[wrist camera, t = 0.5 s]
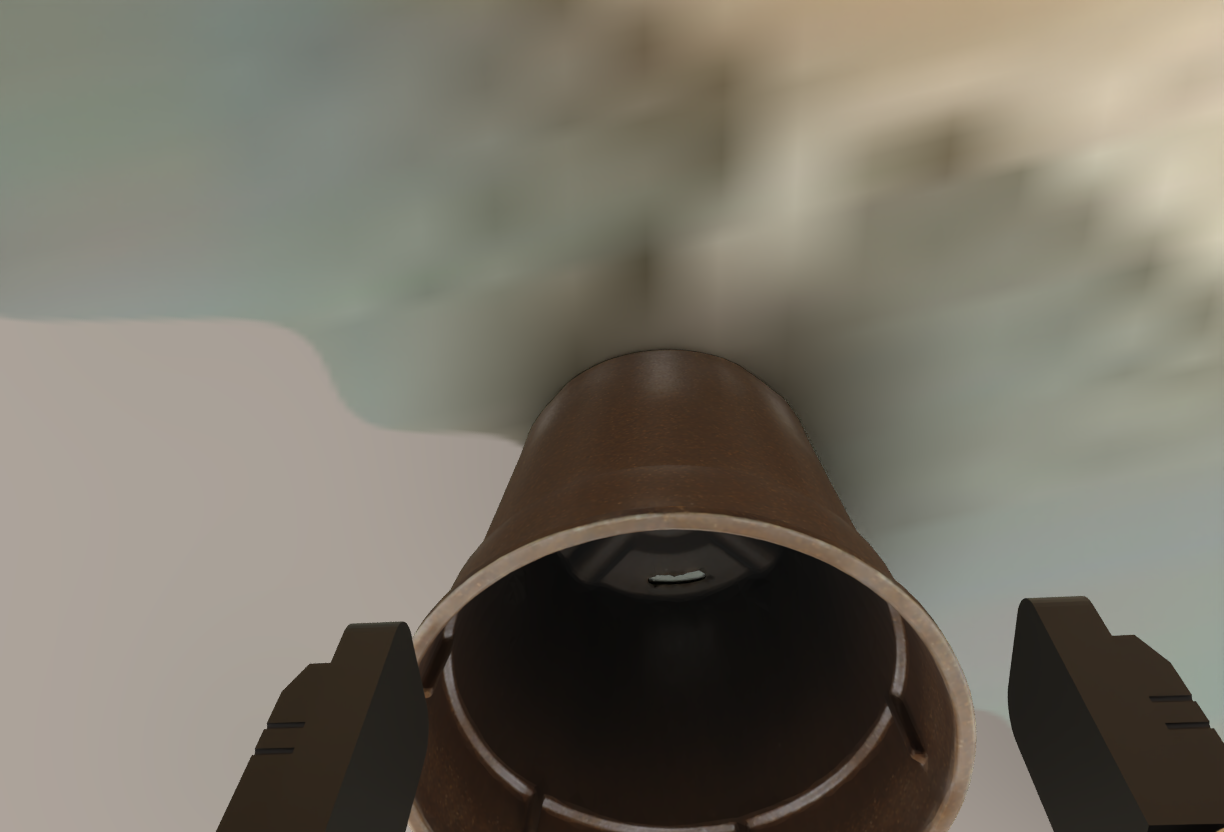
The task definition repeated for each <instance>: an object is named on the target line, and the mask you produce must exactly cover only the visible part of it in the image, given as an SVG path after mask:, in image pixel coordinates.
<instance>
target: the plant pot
mask: <svg viewBox="0 0 1224 832" xmlns="http://www.w3.org/2000/svg"><path fill="white" fill-rule="evenodd" d="M697 570H700V571H702V572H703V573H705V574H706V577H705V578H704V579H703V580H701V581H697V582H691V583H685V584H662V585H656V584H651V583H649V582H648V579H649V578H651V577H655V576H656V575H672V576H674V577H675V576H677V575H684V574H685V573H689V572H694V571H697ZM412 640H413V645H414V649H415V654H416V658H417V663H418V667H419V672H420V676H421V681H422V685H423V690H424V694H425V699H426V703H427V709H428V719H429V735H428V746H427V752H426V757H425V761H424V764H423V768H422V772H421V775H420V779H419V783H418V787H417V790H416V794H415V798H414V801H413V805H412V809H411V813H410V816H409V820H408V826H409V827H410V829H411V831H412V832H948V830H949V828H950V827H951V825H952V824H953V822H954V820H955V818H956V816H957V814H958V812H959V810H960V808H961V806H962V803H963V801H964V799H965V796H966V793H967V791H968V788H969V785H970V781H971V776H972V771H973V766H974V759H975V750H976V721H975V713H974V706H973V702H972V697H971V693H970V689H969V686H968V684H967V681H966V678H965V675H964V672H963V670H962V668H961V666H960V664H959V662H958V660H957V658H956V656H955V654H954V652H953V650H952V648H951V646H950V644H949V643H948V641H947V640H946V638H945V637H944V635H943V633H942V632H941V630H940V629H939V627H938V626H937V624H936V623H935V621H934V620H933V619H932V617H931V616H930V615H929V614H928V613H927V611H926V610H925V609H924V608H923V606H922V605H921V604H920V603H919V602H918V601H917V600H916V599H915V598H914V597H913V596H912V595H911V594H910V593H909V592H908V591H907V590H906V589H905V588H904V587H903V586H902V585H901V584H899V583H898V582H897V581H896V580H895V579H894V578H893V576H892V575H891V573H890V571H889V570H888V568H887V566H886V565H885V563H884V562H883V561H882V559H881V558H880V557H879V556H878V554H877V553H876V552H875V551H874V549H873V548H872V547H871V546H870V544H869V543H868V542H867V541H866V540H865V539H864V538H863V537H862V536H861V535H860V534H859V533H858V532H857V531H856V529H855V527H854V525H853V524H852V522H851V520H850V518H849V516H848V514H847V513H846V511H845V509H844V507H843V505H842V503H841V501H840V499H839V497H838V495H837V493H836V492H835V490H834V488H833V486H832V484H831V483H830V481H829V479H828V477H827V475H826V473H825V471H824V469H823V467H822V465H821V463H820V461H819V460H818V458H817V456H816V454H815V452H814V450H813V448H812V446H811V444H810V442H809V440H808V439H807V436H806V434H805V432H804V430H803V427H802V425H801V423H800V421H799V420H798V418H797V416H796V415H795V413H794V412H793V410H792V409H791V408H790V406H789V405H788V403H787V402H786V401H785V400H784V399H783V398H782V397H781V396H780V395H779V394H777V393H776V392H774V391H773V390H772V389H770V388H769V387H768V386H767V385H766V384H765V383H763V382H762V381H761V380H759V379H758V378H756V377H755V376H753V375H752V374H751V373H749V372H748V371H746V370H745V369H744V368H742V367H741V366H739V365H737V364H735V363H733V362H730V361H728V360H726V359H723V358H720V357H716V356H713V355H709V354H704V353H699V352H694V351H685V350H652V351H644V352H637V353H632V354H627V355H623V356H620V357H617V358H613V359H610V360H607V361H605V362H602V363H600V364H598V365H596V366H594V367H592V368H590V369H588V370H586V371H585V372H583V373H581V374H580V375H578V376H577V377H575V378H574V379H572V380H571V381H570V382H569V383H567V384H566V385H565V386H564V388H563V389H562V390H561V391H560V392H559V393H558V394H557V395H556V396H555V398H554V399H553V400H552V401H551V402H550V403H549V404H548V405H547V406H546V407H545V409H544V410H543V411H542V412H541V414H540V415H539V417H538V418H537V419H536V421H535V422H534V424H533V425H532V427H531V429H530V432H529V434H528V437H527V439H526V442H525V445H524V447H523V450H522V453H521V455H520V458H519V460H518V463H517V465H516V467H515V469H514V472H513V474H512V476H511V479H510V481H509V483H508V486H507V488H506V490H505V493H504V495H503V498H502V500H501V502H500V505H499V507H498V509H497V512H496V514H495V516H494V518H493V521H492V523H491V525H490V528H489V530H488V532H487V534H486V537H485V539H484V541H483V542H482V544H481V545H480V546H479V547H478V549H477V550H476V551H475V552H474V553H473V554H472V556H471V557H470V558H469V559H468V561H467V563H466V564H465V565H464V567H463V568H462V570H461V571H460V573H459V575H458V577H457V579H456V580H455V582H454V584H453V586H452V588H451V590H450V591H449V592H448V593H447V594H446V595H445V596H444V597H443V598H442V599H441V600H440V601H439V602H438V603H437V605H436V606H435V607H434V608H433V609H432V610H431V611H430V613H429V614H428V615H427V616H426V618H425V619H424V620H423V622H422V623H421V625H420V626H419V628H418V629H417V631H416V633H415V635H414V636H413V638H412Z"/></svg>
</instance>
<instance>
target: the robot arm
mask: <svg viewBox="0 0 1224 832" xmlns="http://www.w3.org/2000/svg"><path fill="white" fill-rule="evenodd" d="M1008 709H1009V716H1010V722H1011V726H1012V731H1013V734H1014V737H1015V740H1016V742H1017V745H1018V747H1019V750H1020V752H1021V754H1022V757H1023V759H1024V761H1025V764H1026V766H1027V768H1028V771H1029V773H1030V776H1031V778H1032V780H1033V783H1034V785H1035V787H1036V790H1037V792H1038V795H1039V797H1040V800H1041V802H1042V804H1043V807H1044V809H1045V811H1046V814H1047V816H1048V819H1049V821H1050V823H1051V826H1052V828H1053V831H1054V832H1224V743H1223V741H1222V740H1221V738H1220V737H1219V735H1218V734H1217V732H1216V731H1215V729H1214V728H1210V725H1209V720H1208V719H1207V717H1206V716H1205V714H1204V713H1203V711H1202V710H1201V708H1200V707H1199V705H1198V704H1197V702H1196V701H1193V700H1192V695H1191V693H1190V691H1189V690H1188V688H1187V687H1186V685H1185V684H1184V682H1183V681H1182V679H1181V678H1180V676H1179V675H1178V673H1177V672H1176V670H1175V669H1174V667H1173V666H1172V664H1171V663H1170V662H1169V661H1168V660H1166V659H1165V658H1164V657H1163V656H1161V655H1160V654H1159V653H1157V652H1156V651H1155V650H1153V649H1152V648H1151V647H1149V646H1148V645H1147V644H1146V643H1144V642H1143V641H1142V640H1140V639H1139V638H1138V637H1136V636H1135V635H1120V636H1112V635H1111V634H1110V632H1109V630H1108V629H1107V627H1106V626H1105V624H1104V622H1103V621H1102V619H1101V617H1100V616H1099V614H1098V612H1097V611H1096V609H1095V607H1094V606H1093V604H1092V603H1091V601H1090V600H1089V599H1088V598H1086V597H1085V596H1072V597H1047V598H1025V599H1023V600H1022V601H1021V603H1020V605H1019V608H1018V613H1017V621H1016V629H1015V637H1014V645H1013V653H1012V661H1011V669H1010V677H1009V685H1008ZM428 735H429V719H428V709H427V703H426V699H425V694H424V690H423V685H422V681H421V676H420V672H419V667H418V663H417V658H416V654H415V649H414V645H413V640H412V636H411V632H410V629H409V627H408V625H407V623H405V622H382V623H357V624H350V625H348V626H347V628H346V629H345V631H344V633H343V636H342V638H341V640H340V643H339V645H338V647H337V650H336V652H335V654H334V656H333V659H332V661H331V663H318V664H309V665H308V666H307V667H306V668H305V669H304V670H303V671H302V672H301V673H300V674H299V675H298V676H297V677H296V678H295V679H294V680H293V681H292V682H291V683H290V684H289V685H288V686H287V687H286V688H285V689H284V690H283V691H282V692H281V695H280V697H279V699H278V701H277V703H276V705H275V707H274V709H273V711H272V714H271V716H270V718H269V720H268V722H267V729H264V731H263V733H262V735H261V737H260V739H259V741H258V744H257V745H256V748H255V755H252V756H251V758H250V760H249V762H248V765H247V767H246V769H245V771H244V773H243V775H242V777H241V780H240V782H239V784H238V786H237V788H236V790H235V792H234V795H233V796H232V799H231V801H230V803H229V805H228V807H227V809H226V812H225V813H224V816H223V818H222V820H221V822H220V824H219V826H218V829H217V830H216V832H405V831H406V827H407V824H408V820H409V816H410V813H411V809H412V805H413V801H414V798H415V794H416V790H417V787H418V783H419V779H420V775H421V772H422V768H423V764H424V761H425V757H426V752H427V746H428Z"/></svg>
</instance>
